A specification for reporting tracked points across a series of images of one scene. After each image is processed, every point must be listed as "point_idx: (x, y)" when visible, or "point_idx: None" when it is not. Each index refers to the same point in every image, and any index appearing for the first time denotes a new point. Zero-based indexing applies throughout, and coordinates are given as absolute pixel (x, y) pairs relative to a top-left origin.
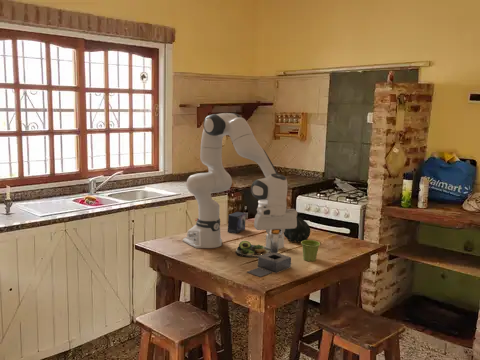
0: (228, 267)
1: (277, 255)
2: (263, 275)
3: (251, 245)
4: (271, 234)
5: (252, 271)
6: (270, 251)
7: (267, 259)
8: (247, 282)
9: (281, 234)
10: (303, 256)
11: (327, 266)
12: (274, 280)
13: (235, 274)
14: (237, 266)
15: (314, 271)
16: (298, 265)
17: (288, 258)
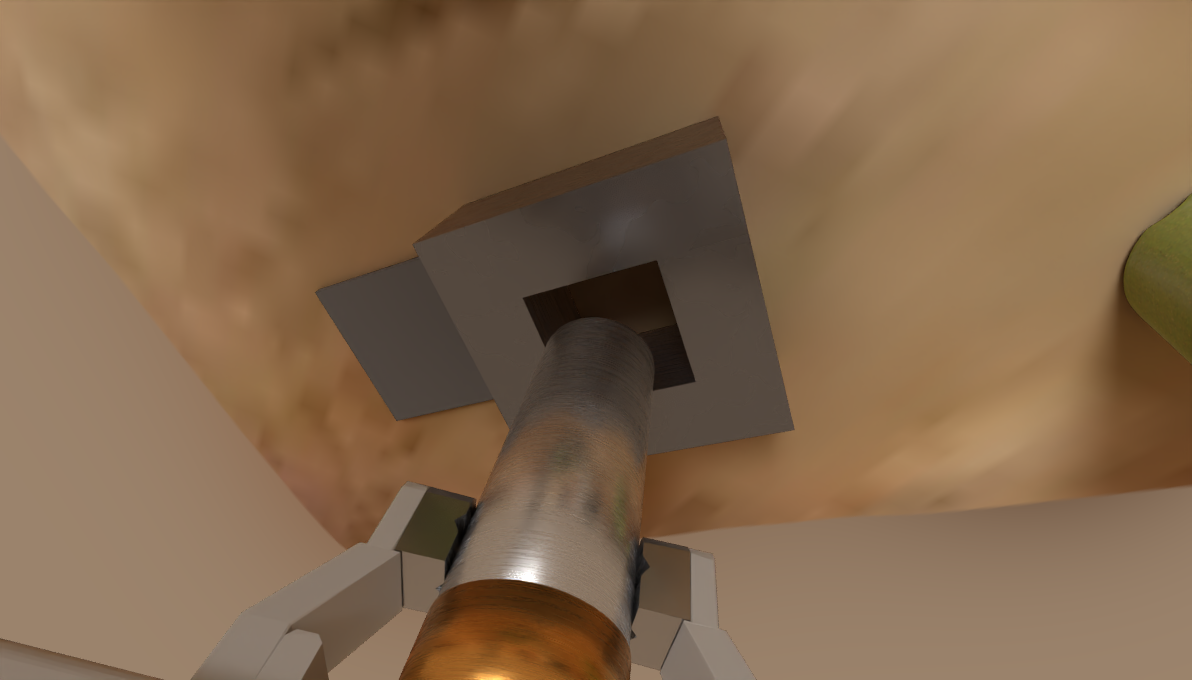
0: (153, 84)
1: (678, 311)
2: (429, 412)
3: None
4: (442, 587)
5: (363, 310)
6: (544, 349)
7: (487, 369)
8: (284, 443)
9: (670, 676)
10: (1172, 242)
11: (1137, 487)
12: (480, 495)
13: (213, 285)
14: (253, 96)
15: (897, 511)
16: (898, 349)
17: (738, 438)
